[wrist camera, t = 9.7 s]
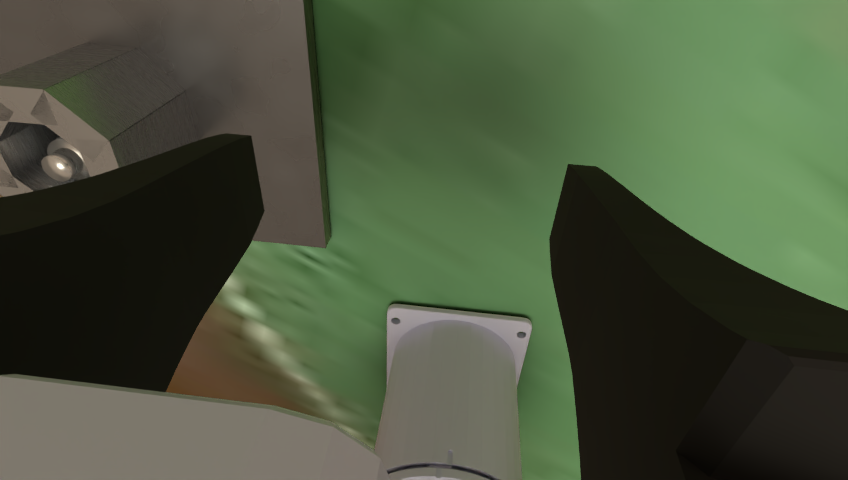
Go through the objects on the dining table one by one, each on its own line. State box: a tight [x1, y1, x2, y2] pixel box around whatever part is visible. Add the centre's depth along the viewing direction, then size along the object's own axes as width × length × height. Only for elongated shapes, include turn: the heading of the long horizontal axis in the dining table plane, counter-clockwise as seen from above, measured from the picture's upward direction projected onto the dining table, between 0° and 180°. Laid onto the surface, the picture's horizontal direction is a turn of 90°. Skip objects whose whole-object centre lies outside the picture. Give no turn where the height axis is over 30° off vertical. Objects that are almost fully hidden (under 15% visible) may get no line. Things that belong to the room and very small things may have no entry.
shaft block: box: [0, 0, 331, 248], centre depth 19 cm, size 12×16×6 cm
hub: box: [0, 43, 198, 197], centre depth 19 cm, size 5×5×5 cm
